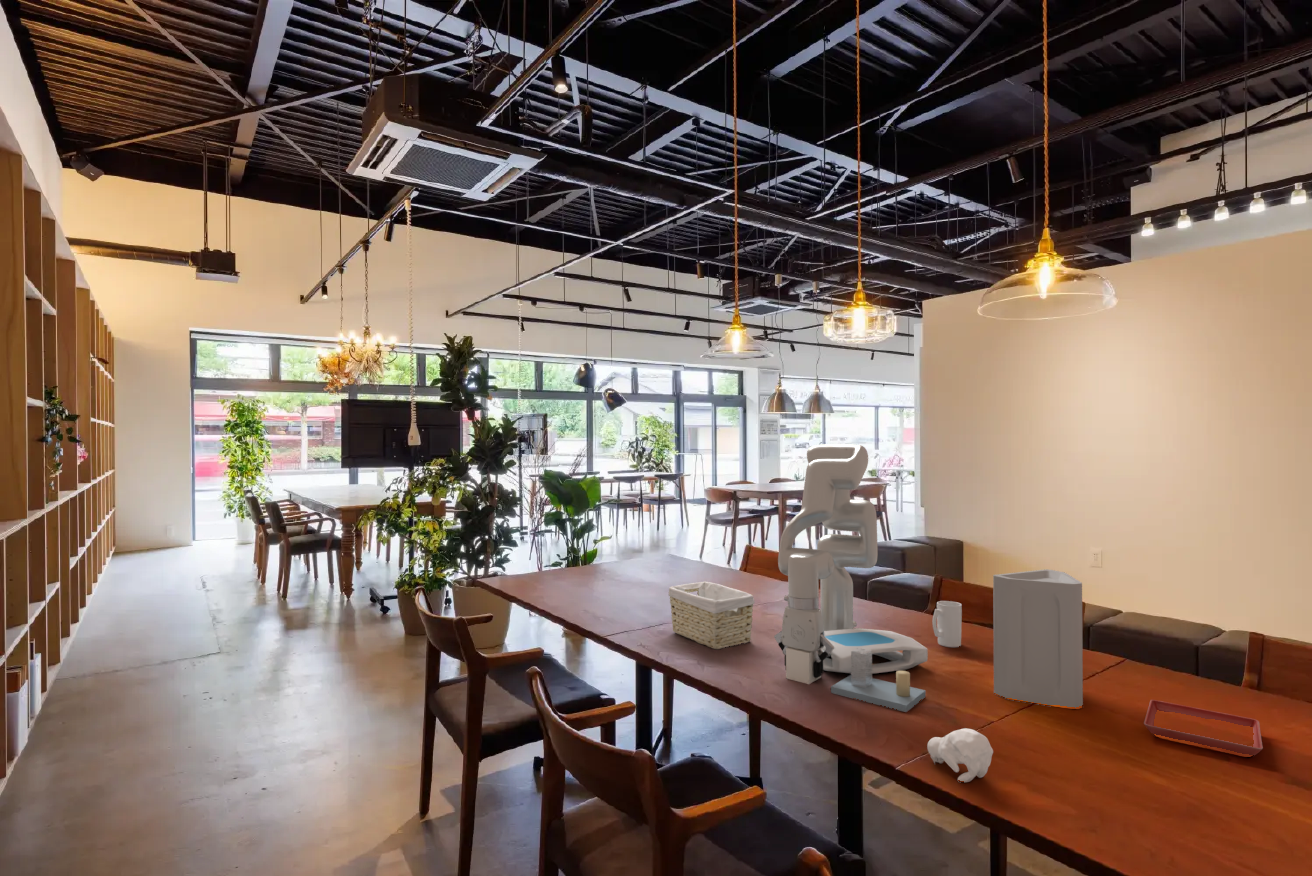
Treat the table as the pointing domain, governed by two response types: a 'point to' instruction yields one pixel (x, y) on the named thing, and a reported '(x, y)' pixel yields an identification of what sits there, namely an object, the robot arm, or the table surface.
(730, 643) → the storage basket
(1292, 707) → the table surface
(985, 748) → the white animal figure
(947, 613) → the mug
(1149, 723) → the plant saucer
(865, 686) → the steel post
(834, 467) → the robot arm
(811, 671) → the matte white cube
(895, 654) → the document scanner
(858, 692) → the slate board
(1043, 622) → the grey triangular planter
